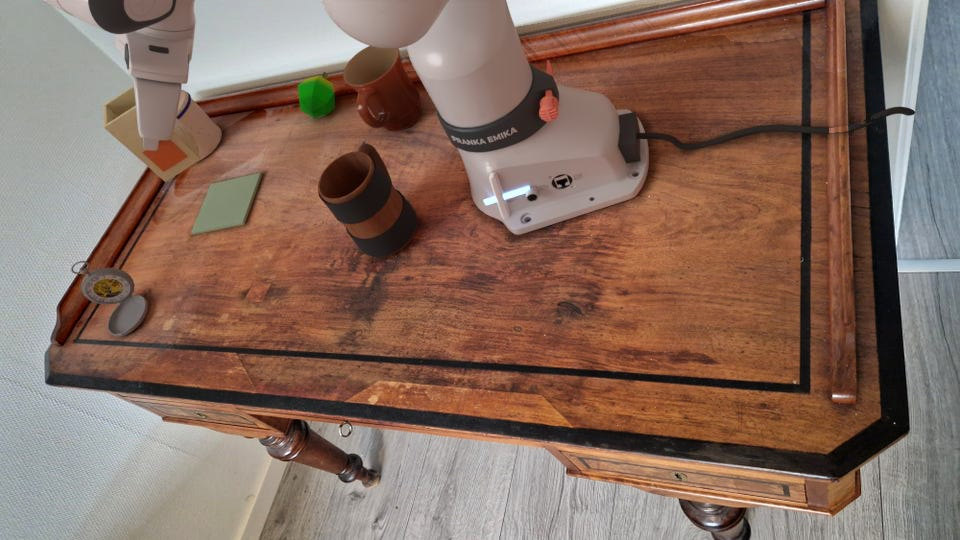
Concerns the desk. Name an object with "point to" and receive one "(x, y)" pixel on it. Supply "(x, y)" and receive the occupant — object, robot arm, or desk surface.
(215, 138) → the teacup with lid
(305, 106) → the apple
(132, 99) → the bin
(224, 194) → the mat
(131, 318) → the pocket watch
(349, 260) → the desk surface
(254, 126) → the desk surface
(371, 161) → the mug
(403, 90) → the mug
